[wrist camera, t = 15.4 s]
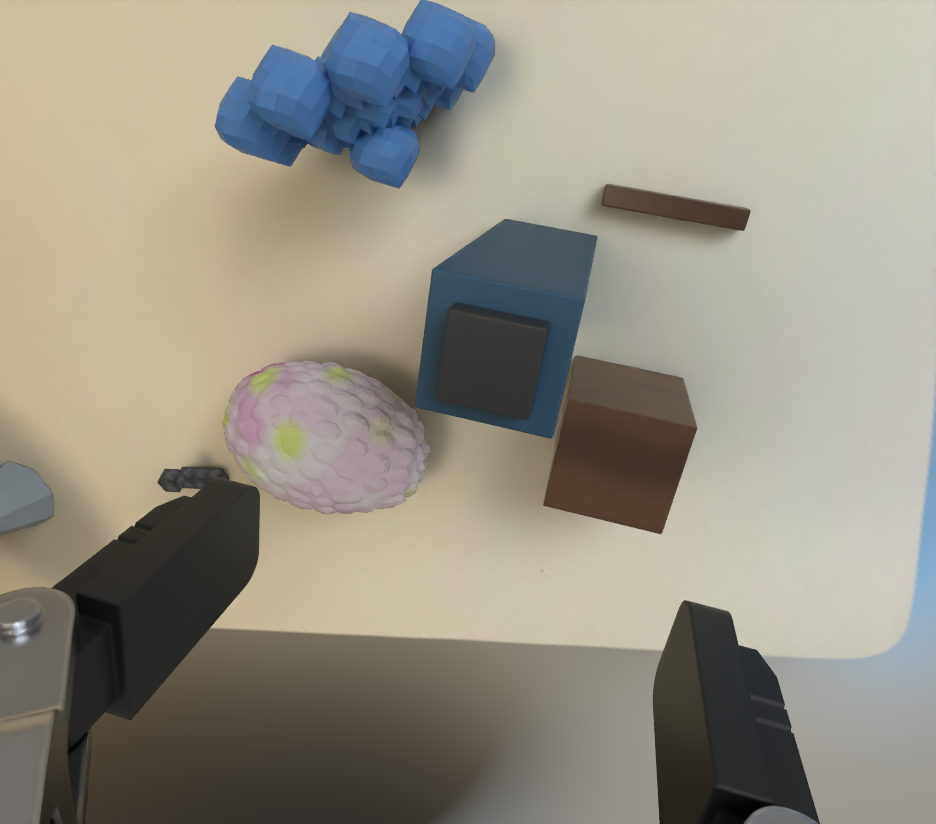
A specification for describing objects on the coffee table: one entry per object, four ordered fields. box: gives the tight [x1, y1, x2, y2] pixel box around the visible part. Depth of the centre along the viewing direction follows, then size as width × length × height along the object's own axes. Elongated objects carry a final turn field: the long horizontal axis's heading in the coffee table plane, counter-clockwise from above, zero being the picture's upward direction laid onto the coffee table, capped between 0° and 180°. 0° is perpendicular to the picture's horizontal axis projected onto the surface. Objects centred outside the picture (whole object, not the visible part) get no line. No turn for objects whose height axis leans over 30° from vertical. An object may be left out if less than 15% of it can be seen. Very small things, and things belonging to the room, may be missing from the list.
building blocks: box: [157, 467, 229, 492], centre depth 44 cm, size 3×6×8 cm
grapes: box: [215, 0, 495, 188], centre depth 28 cm, size 12×7×12 cm, turn 111°
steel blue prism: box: [415, 219, 597, 438], centre depth 28 cm, size 14×5×14 cm
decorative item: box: [222, 360, 431, 514], centre depth 37 cm, size 9×11×10 cm
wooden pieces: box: [543, 184, 750, 534], centre depth 32 cm, size 15×7×7 cm, turn 171°
